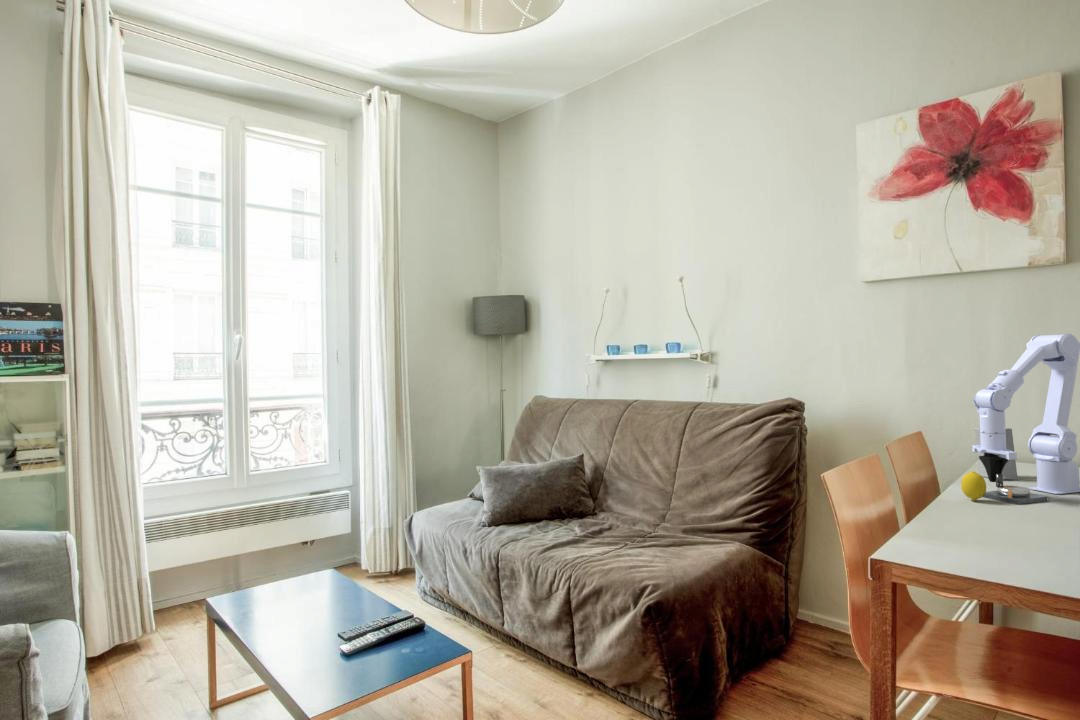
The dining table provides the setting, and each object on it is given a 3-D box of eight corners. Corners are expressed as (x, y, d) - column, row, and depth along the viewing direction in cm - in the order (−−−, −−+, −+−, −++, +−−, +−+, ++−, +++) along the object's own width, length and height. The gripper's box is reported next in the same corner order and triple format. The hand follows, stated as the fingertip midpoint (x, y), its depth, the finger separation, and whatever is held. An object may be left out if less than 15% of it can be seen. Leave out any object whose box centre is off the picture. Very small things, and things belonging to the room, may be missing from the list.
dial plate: (1010, 493, 172) (1009, 482, 172) (1047, 501, 162) (1046, 489, 162) (981, 496, 169) (981, 485, 169) (1017, 504, 159) (1017, 493, 160)
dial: (1011, 490, 170) (1010, 472, 170) (1036, 495, 163) (1036, 476, 163) (990, 492, 168) (990, 474, 168) (1016, 497, 161) (1015, 478, 161)
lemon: (978, 498, 167) (977, 469, 167) (991, 503, 162) (990, 473, 162) (957, 498, 168) (956, 469, 168) (969, 503, 162) (968, 473, 162)
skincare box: (1018, 480, 188) (1016, 428, 188) (994, 480, 189) (992, 429, 189) (998, 474, 197) (996, 425, 197) (975, 475, 197) (974, 426, 197)
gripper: (960, 430, 177) (962, 477, 177) (996, 436, 162) (998, 487, 162) (985, 429, 177) (987, 476, 177) (1023, 435, 162) (1025, 486, 162)
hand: (994, 481), depth 170 cm, fingers closed, pressing on dial
